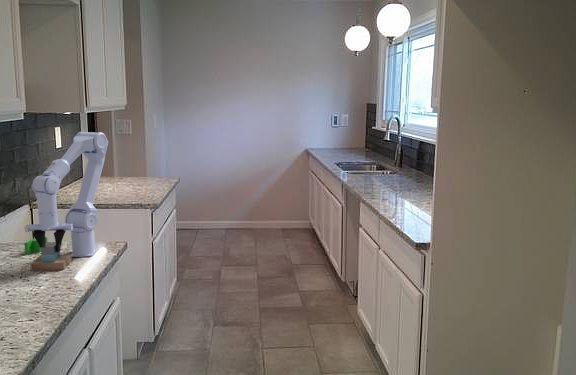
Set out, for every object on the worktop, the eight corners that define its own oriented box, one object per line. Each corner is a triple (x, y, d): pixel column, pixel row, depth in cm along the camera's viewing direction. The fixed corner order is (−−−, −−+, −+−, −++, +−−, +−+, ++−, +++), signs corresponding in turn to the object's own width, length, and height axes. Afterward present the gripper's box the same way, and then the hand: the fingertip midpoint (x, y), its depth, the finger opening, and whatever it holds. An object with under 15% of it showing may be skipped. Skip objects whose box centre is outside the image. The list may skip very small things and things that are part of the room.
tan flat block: (41, 262, 180) (40, 255, 180) (71, 261, 181) (71, 254, 181) (31, 271, 171) (31, 263, 171) (64, 269, 173) (63, 262, 172)
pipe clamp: (35, 255, 188) (34, 243, 187) (25, 255, 189) (24, 242, 188) (52, 246, 199) (51, 234, 198) (43, 245, 199) (42, 234, 199)
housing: (47, 256, 178) (46, 242, 177) (60, 256, 179) (59, 241, 178) (42, 262, 172) (40, 247, 171) (54, 261, 173) (53, 247, 172)
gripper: (19, 215, 168) (23, 256, 171) (67, 214, 170) (70, 254, 172) (27, 210, 175) (31, 249, 177) (73, 209, 177) (76, 248, 179)
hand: (51, 251), depth 175 cm, fingers closed on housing, 4 cm apart
